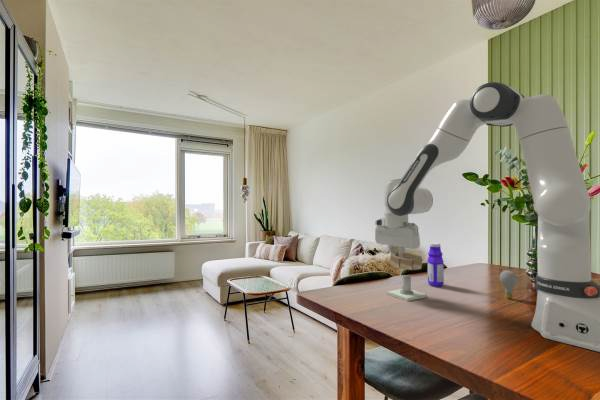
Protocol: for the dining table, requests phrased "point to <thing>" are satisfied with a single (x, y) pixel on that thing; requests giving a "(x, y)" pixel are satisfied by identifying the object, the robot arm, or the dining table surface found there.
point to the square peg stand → (406, 291)
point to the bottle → (435, 265)
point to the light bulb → (508, 282)
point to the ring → (406, 261)
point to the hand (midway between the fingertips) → (396, 257)
